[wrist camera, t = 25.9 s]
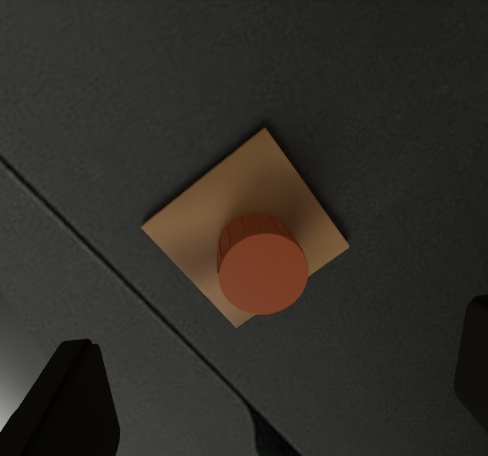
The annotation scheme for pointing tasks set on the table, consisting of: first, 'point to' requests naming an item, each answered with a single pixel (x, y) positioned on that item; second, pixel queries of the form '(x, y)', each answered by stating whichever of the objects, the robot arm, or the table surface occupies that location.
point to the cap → (260, 264)
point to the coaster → (239, 204)
